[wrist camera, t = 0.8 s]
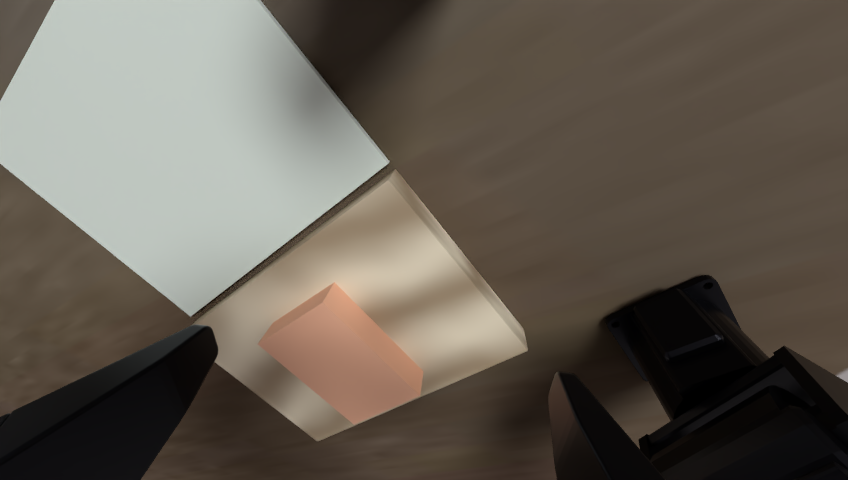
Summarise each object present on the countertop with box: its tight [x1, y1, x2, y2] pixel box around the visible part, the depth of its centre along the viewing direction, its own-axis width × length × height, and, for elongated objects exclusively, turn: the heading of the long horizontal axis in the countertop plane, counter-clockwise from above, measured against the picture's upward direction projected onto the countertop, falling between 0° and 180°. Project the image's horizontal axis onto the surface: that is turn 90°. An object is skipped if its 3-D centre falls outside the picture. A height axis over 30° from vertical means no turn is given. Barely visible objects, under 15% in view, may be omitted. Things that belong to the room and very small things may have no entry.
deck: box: [191, 169, 528, 442], centre depth 25 cm, size 14×20×2 cm
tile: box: [258, 282, 423, 425], centre depth 23 cm, size 9×6×2 cm, turn 38°
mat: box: [0, 0, 390, 317], centre depth 20 cm, size 16×20×1 cm
